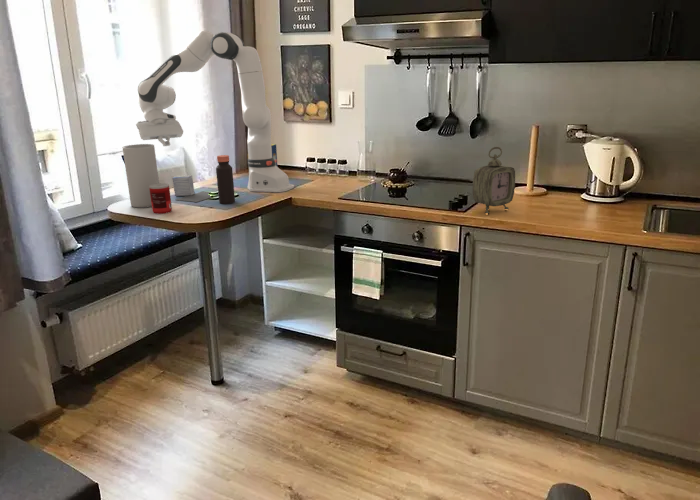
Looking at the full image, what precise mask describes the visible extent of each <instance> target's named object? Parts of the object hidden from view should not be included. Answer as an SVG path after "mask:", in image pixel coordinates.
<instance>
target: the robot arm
mask: <svg viewBox="0 0 700 500" xmlns="http://www.w3.org/2000/svg"><path fill="white" fill-rule="evenodd" d="M214 55H215V56H216V57H218V58H221V59H224V60H228V61H234V63H235V65H236V68H237V69H236V70H237V76H238V81H239V87H240V97H241V110H242V111H241V112H242V121H243V123H244V125H245V126H246V127H247V141H246V143H247V147H248V155H247V167H249V168H248V183H247V187H246V188H247V189H248V190H249V192H259V193H260V192H262V193H263V192H265V193H283V192H286V191H289V190H292V189H294V188H295V185H294V184H291V183H290V180H289V176H288V174H287V173H285V171H283V170H282V169H280V168H279V167H278V165H277V166H276V164H275V162H277V163H278V159H277V160H274V159H273V157H272V148H271V144H272V111H271V109H270V108H269V106H268V105H267V102H266V101H267V99H266V86H265V85H266V84H265V78H264V71H263V66H262V62H261V59H260V55H259V53H258V51H257V48H255V47H253V46H247V45H246V46H245V43H244V40H243V39H242V37H240V36H239V35H238V34H234V33H231V32H227V31H226V32H222V31H221V32H218V33H216V34H213V33H212V32H211V31H209V30H200V31H199V32H198V33H196V34H195V36H193V37H192V38H191V39H190V41H189V42H188V43H187V44H186V45H185V46H184V47H183V48H182V49H181V50H179V51H178V52H177V53H175V54H173V55H171V56H169V57H168V58H167V59H166V60H165V61H163V63H161V65H159V67H157V69H155V70H154V71H153V72H152V73H151V74H150V75H149V76H147V77H146V78H144V79H142V80H141V81H140V82H139V84H138V86H137V95H136V96H137V101H138V104H139V108H140V110H141V112H143V117H144V120H139V121H137V122H136V124H135V125H136V128H137V129H138V133H139V136H140V139H141V140H142V141H149V140H150V141H152V140H157V141H158V142H159V143H161V144H162V146H163V147H170V146H171V142H170V140H171V139H174V138H177V139H178V138H181V137H182V136H183V135H184V129H183V127H182V125H181V123H180V122H179V121H178V120H177V117H176V115H175V114H171V113H166V112H164V111H163V110H166V109H168V108H169V107H171V106H172V105H173V104H174V103H175V101H176V91H175V89H174V88H173V87H172V86H169V85H166V84H165V82H167V81H168V80H169V78H171V77H172V76H173V75H174V74H177V73H195V72H198V71H200V70H201V69H202V68H204V66H205V65H207V62H209V60H210V59H211V58H212V56H214Z"/></svg>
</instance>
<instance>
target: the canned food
mask: <svg viewBox="0 0 700 500" xmlns="http://www.w3.org/2000/svg"><path fill="white" fill-rule="evenodd" d="M149 189H150V197H151V204H152V207H151V210H152V214H155V215H163V214H164V215H165V214H169V213H171V212H172V211H173V207H172V198H171V192H170V191H171V190H170V185H169V184H168V183H163V182H161V183H160V182H159V184H153V185H150V186H149Z"/></svg>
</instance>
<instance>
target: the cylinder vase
mask: <svg viewBox="0 0 700 500" xmlns="http://www.w3.org/2000/svg"><path fill="white" fill-rule="evenodd" d="M155 148H156V147H155V144H151V143H140V144H138V143H137V144H136V143H135V144H129V145H124V146H122V154H123V159H124V166H125V174H126V180H127V181H126V182H127V187H128V194H129V201H130V202H129V203H130V206H132V207H133V208H136V209H137V208H138V209H139V208H140V209H144V208H146V209H147V208H152V204H151V197H150V189H149V186H150V185H153V184H159V183H160V179H159V172H158V164H157V157H156V149H155Z"/></svg>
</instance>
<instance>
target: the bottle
mask: <svg viewBox="0 0 700 500" xmlns="http://www.w3.org/2000/svg"><path fill="white" fill-rule="evenodd" d="M216 161H217V163H218V165H217V166H216V168H215V173H216V175H215V176H216V183H217V193H218V202H219V204H222V205H229V204H233V203H235V202H236V197H235V196H236V195H235V187H234V183H235V182H234V174H233V167H232V166H231V165H230V164H229V163H230V156H229V155H228V154H221V155H220V154H219V155H217V156H216Z"/></svg>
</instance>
